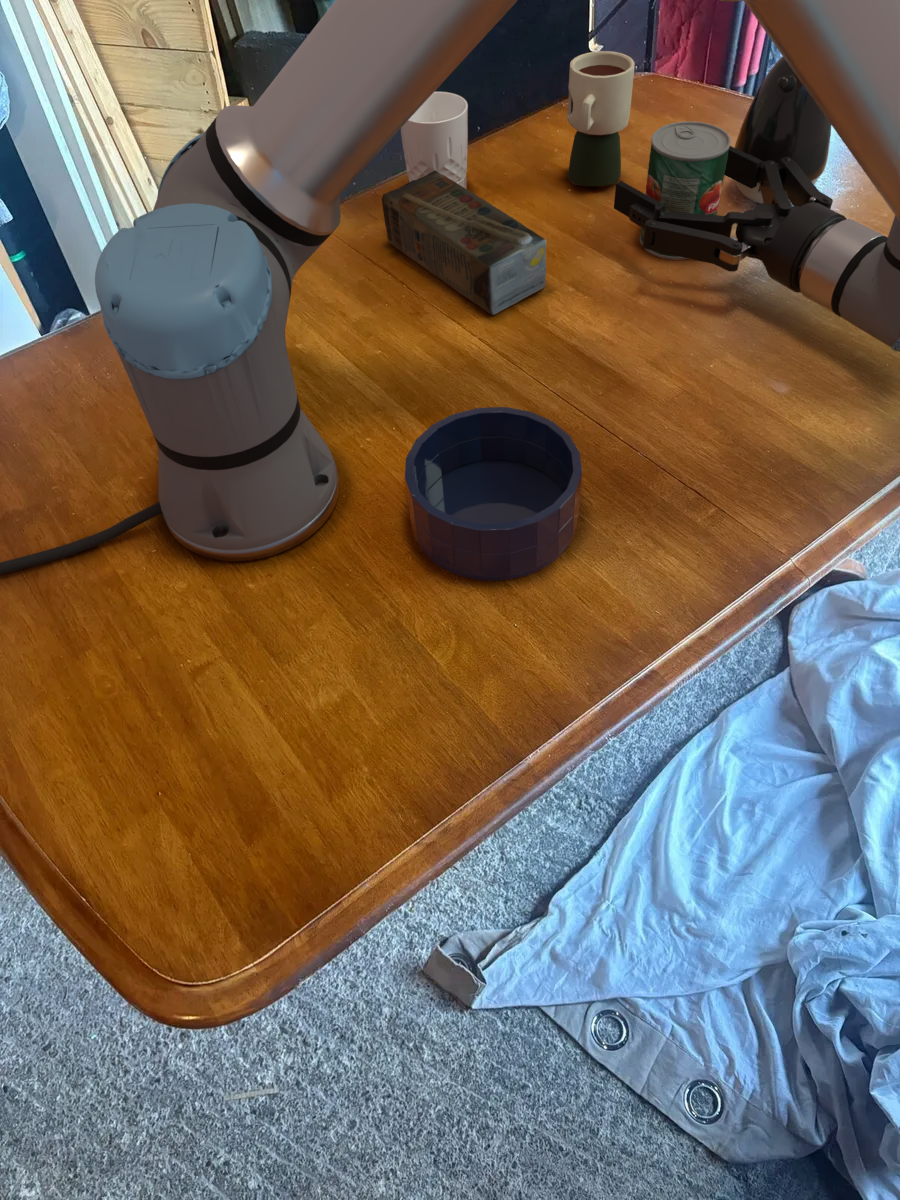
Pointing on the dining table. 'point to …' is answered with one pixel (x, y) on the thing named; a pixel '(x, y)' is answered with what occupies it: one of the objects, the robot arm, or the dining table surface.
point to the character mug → (598, 115)
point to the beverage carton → (465, 241)
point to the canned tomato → (687, 169)
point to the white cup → (437, 138)
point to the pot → (493, 492)
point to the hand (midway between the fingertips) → (665, 173)
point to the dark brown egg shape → (784, 126)
